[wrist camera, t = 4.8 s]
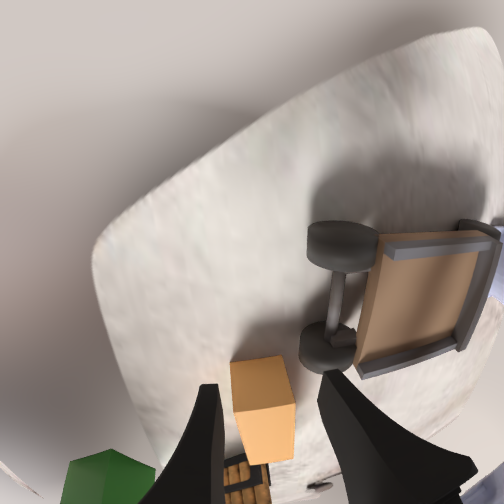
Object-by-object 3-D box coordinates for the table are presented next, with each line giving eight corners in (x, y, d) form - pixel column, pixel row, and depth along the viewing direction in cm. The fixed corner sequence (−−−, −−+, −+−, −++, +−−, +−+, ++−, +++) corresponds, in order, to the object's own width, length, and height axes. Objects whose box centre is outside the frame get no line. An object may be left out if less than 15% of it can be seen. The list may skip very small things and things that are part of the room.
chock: (281, 353, 20) (295, 403, 15) (283, 419, 24) (293, 458, 19) (229, 361, 20) (233, 412, 15) (244, 424, 24) (250, 465, 19)
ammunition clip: (206, 471, 28) (209, 542, 17) (196, 468, 28) (198, 541, 16) (267, 451, 26) (282, 533, 15) (257, 447, 26) (271, 534, 15)
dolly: (476, 219, 17) (521, 241, 12) (454, 307, 21) (487, 338, 16) (299, 222, 16) (334, 259, 11) (292, 340, 19) (312, 397, 14)
